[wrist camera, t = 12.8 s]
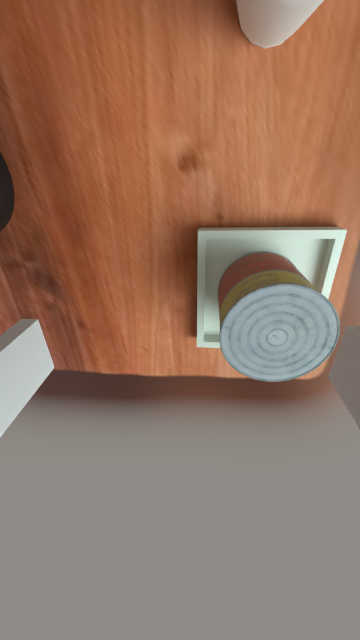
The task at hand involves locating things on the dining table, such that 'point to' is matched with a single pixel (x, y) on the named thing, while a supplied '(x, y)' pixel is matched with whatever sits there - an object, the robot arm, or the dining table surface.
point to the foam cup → (273, 19)
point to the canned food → (273, 319)
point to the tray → (234, 242)
